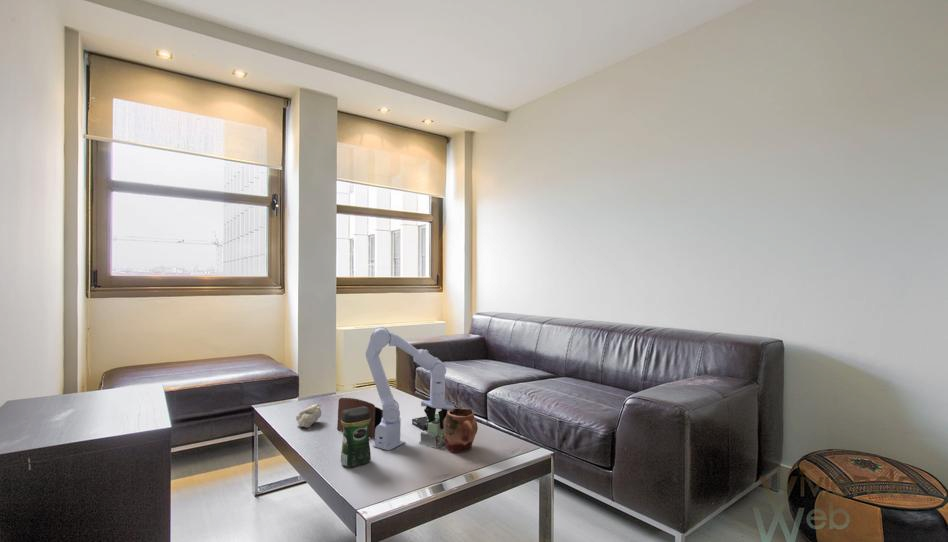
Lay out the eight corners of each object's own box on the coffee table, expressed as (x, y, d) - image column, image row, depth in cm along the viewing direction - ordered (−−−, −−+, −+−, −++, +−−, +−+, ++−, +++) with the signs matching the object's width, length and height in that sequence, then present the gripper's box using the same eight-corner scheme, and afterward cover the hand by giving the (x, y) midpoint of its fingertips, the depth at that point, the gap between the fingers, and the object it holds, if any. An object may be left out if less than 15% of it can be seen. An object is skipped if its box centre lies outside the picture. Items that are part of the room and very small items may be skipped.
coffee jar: (364, 455, 156) (364, 402, 156) (373, 463, 149) (374, 408, 150) (337, 462, 150) (338, 407, 150) (345, 470, 144) (346, 413, 144)
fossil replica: (295, 431, 180) (320, 430, 183) (297, 411, 180) (322, 410, 183) (295, 419, 191) (319, 419, 195) (297, 401, 191) (321, 400, 194)
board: (437, 436, 166) (437, 423, 167) (427, 433, 169) (427, 421, 169) (447, 430, 172) (447, 418, 173) (438, 428, 175) (438, 416, 175)
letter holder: (373, 439, 172) (373, 403, 172) (336, 430, 181) (337, 396, 181) (390, 431, 180) (390, 397, 180) (354, 423, 190) (354, 390, 190)
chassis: (436, 448, 163) (436, 436, 163) (419, 443, 167) (419, 432, 167) (454, 437, 173) (454, 427, 174) (437, 433, 178) (438, 423, 178)
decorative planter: (489, 456, 156) (489, 416, 156) (459, 463, 150) (459, 422, 150) (461, 438, 173) (462, 402, 174) (433, 443, 167) (434, 407, 167)
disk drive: (423, 432, 181) (453, 425, 190) (423, 425, 181) (453, 418, 190) (411, 425, 189) (440, 418, 198) (411, 418, 189) (440, 412, 198)
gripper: (458, 392, 170) (458, 427, 170) (428, 387, 178) (428, 421, 177) (448, 396, 164) (448, 433, 164) (417, 391, 172) (417, 426, 171)
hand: (437, 427), depth 170 cm, fingers closed on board, 4 cm apart
